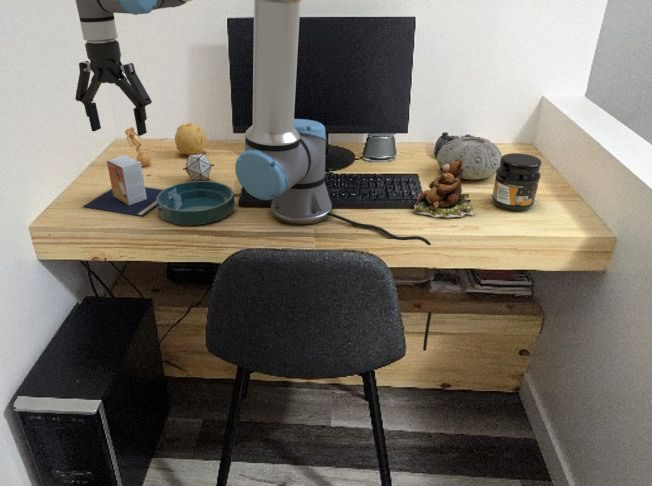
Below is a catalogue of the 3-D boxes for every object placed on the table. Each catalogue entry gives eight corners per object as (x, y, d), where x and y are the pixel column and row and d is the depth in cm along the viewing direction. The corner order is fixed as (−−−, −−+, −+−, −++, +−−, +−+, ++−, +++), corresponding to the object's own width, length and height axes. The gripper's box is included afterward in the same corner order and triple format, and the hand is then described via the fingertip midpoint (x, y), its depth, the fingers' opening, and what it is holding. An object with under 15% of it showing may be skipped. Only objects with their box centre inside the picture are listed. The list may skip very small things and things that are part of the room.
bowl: (246, 200, 146) (245, 185, 144) (213, 231, 131) (211, 216, 128) (183, 191, 152) (181, 177, 149) (143, 220, 136) (141, 205, 134)
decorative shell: (444, 186, 152) (448, 151, 147) (429, 163, 168) (432, 131, 162) (507, 184, 153) (514, 149, 148) (487, 162, 168) (492, 130, 163)
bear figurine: (408, 196, 147) (413, 152, 141) (465, 197, 146) (472, 152, 140) (414, 218, 135) (419, 171, 129) (476, 219, 134) (484, 172, 128)
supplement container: (494, 211, 138) (502, 165, 132) (487, 194, 147) (495, 151, 141) (537, 213, 137) (548, 167, 131) (528, 196, 146) (538, 152, 140)
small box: (113, 197, 147) (105, 159, 142) (131, 191, 151) (125, 154, 145) (128, 206, 143) (121, 167, 137) (147, 199, 146) (141, 161, 140)
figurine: (147, 170, 165) (140, 131, 159) (127, 170, 165) (120, 131, 159) (154, 161, 172) (148, 123, 166) (135, 161, 172) (128, 123, 166)
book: (175, 192, 151) (175, 191, 150) (142, 216, 138) (142, 215, 138) (120, 184, 156) (119, 183, 156) (83, 207, 143) (83, 205, 143)
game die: (205, 194, 159) (205, 175, 150) (177, 182, 159) (177, 163, 149) (217, 170, 163) (219, 151, 153) (191, 159, 162) (191, 139, 153)
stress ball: (180, 149, 181) (176, 119, 176) (209, 149, 181) (206, 119, 176) (174, 160, 173) (169, 128, 168) (205, 159, 173) (201, 128, 168)
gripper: (157, 39, 125) (170, 131, 136) (68, 36, 133) (87, 124, 144) (138, 44, 119) (153, 140, 130) (46, 41, 127) (68, 132, 138)
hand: (119, 132), depth 137 cm, fingers open, 13 cm apart
